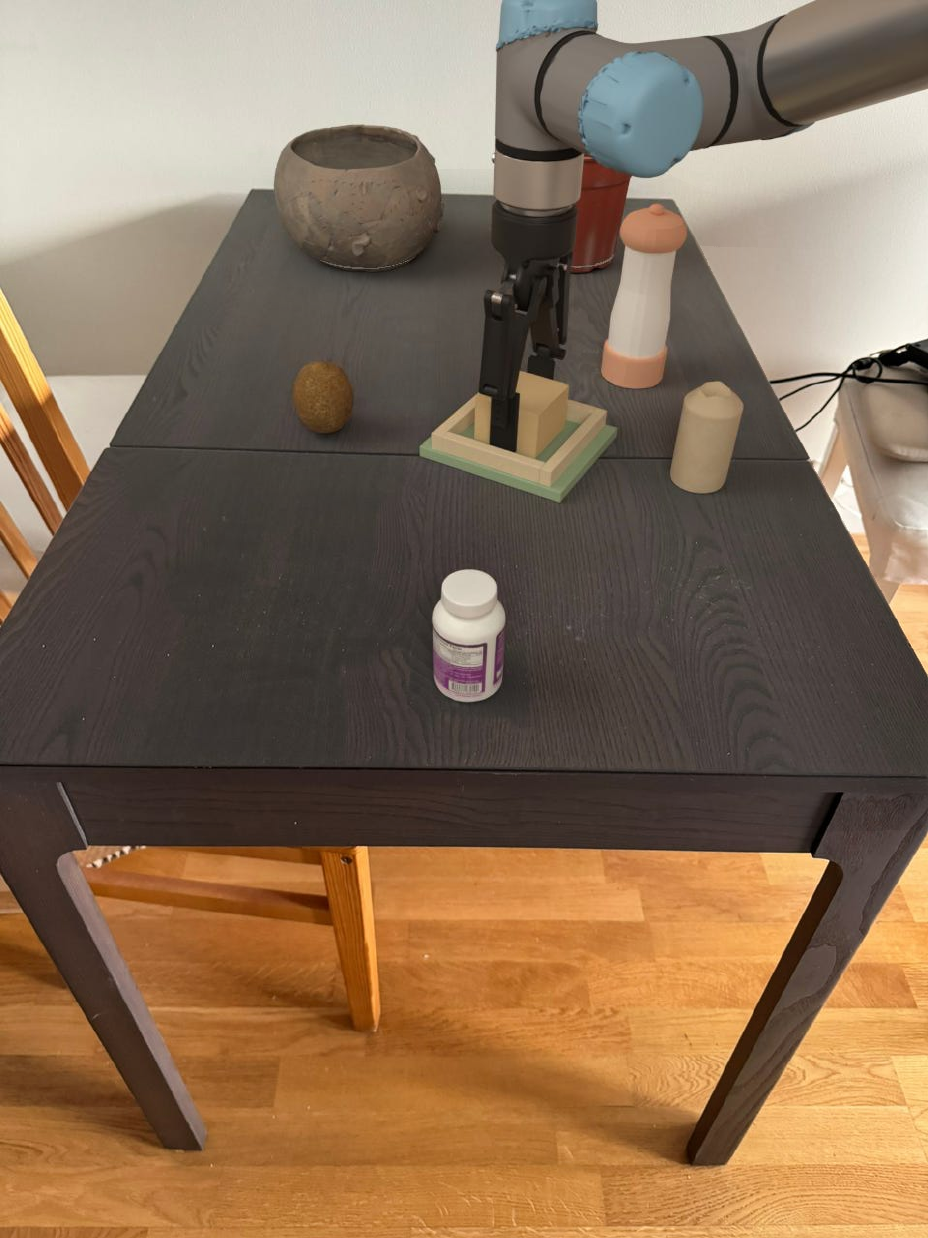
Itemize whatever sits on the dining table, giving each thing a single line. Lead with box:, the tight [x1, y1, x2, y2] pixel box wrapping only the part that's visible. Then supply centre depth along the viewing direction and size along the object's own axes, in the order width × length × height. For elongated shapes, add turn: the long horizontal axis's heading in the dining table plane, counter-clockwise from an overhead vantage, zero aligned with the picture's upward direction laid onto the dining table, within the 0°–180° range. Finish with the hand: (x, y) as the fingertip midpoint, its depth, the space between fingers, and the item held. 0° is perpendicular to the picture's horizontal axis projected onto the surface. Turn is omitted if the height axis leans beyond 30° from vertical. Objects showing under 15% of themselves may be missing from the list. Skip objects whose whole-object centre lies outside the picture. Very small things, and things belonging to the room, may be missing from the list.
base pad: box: [419, 391, 619, 503], centre depth 96 cm, size 16×14×3 cm
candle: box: [669, 381, 744, 494], centre depth 90 cm, size 6×6×10 cm
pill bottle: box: [431, 568, 507, 703], centre depth 69 cm, size 5×5×10 cm
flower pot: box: [570, 154, 633, 274], centre depth 129 cm, size 16×16×16 cm
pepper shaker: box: [600, 203, 688, 390], centre depth 103 cm, size 7×7×19 cm
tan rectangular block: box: [474, 370, 570, 459], centre depth 94 cm, size 7×7×5 cm
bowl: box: [273, 123, 446, 273], centre depth 129 cm, size 23×23×15 cm
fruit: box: [292, 360, 355, 435], centre depth 96 cm, size 6×6×8 cm
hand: (520, 431), depth 96 cm, fingers closed on tan rectangular block, 7 cm apart
